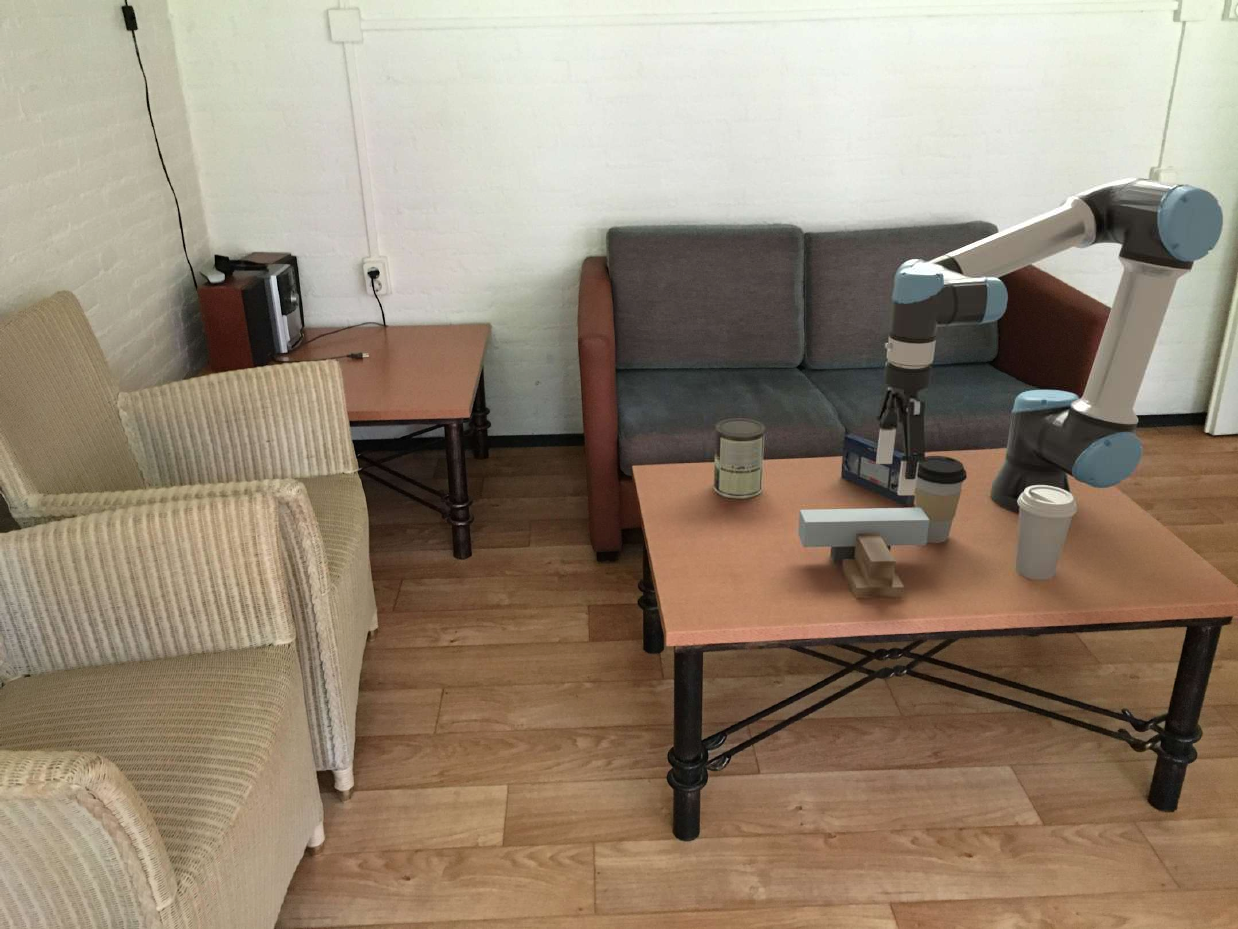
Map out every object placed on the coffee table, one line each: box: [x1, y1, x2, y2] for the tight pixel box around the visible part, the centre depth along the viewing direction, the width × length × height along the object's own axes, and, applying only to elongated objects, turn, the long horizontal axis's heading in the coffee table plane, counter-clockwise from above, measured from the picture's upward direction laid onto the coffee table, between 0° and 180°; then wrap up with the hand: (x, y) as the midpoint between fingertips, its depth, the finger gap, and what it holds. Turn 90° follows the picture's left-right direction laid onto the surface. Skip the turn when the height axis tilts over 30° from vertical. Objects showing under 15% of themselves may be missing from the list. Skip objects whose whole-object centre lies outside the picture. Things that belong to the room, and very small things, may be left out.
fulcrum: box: [841, 534, 905, 599], centre depth 169 cm, size 8×10×7 cm
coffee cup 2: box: [1015, 485, 1078, 581], centre depth 171 cm, size 10×10×15 cm
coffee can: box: [713, 417, 766, 500], centre depth 204 cm, size 10×10×14 cm
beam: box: [797, 507, 929, 548], centre depth 176 cm, size 22×5×5 cm, turn 91°
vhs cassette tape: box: [840, 433, 917, 508], centre depth 204 cm, size 18×3×10 cm, turn 33°
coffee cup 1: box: [914, 455, 967, 544], centre depth 184 cm, size 9×9×15 cm
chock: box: [829, 546, 892, 565], centre depth 178 cm, size 10×3×4 cm, turn 91°
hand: (894, 478), depth 172 cm, fingers open, 13 cm apart
